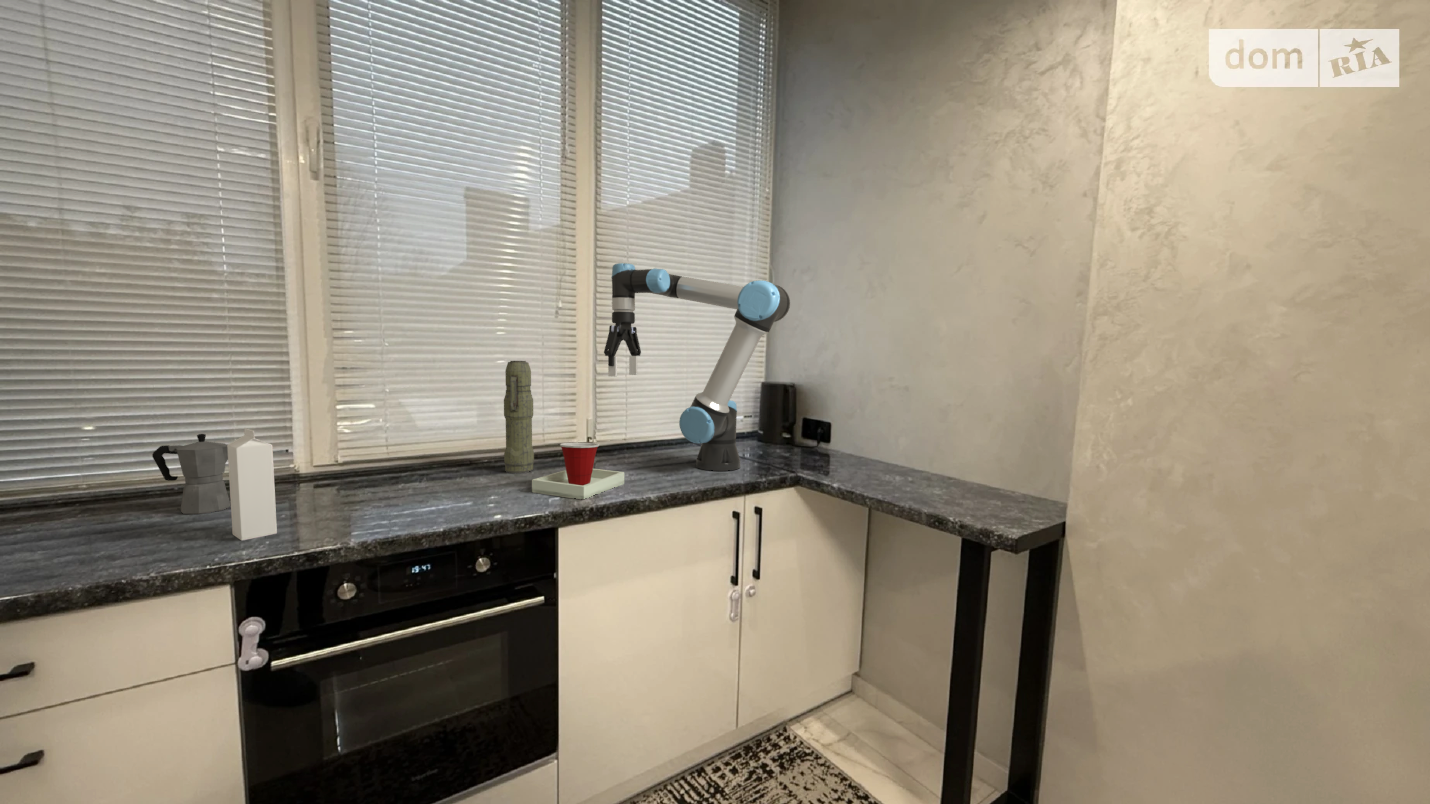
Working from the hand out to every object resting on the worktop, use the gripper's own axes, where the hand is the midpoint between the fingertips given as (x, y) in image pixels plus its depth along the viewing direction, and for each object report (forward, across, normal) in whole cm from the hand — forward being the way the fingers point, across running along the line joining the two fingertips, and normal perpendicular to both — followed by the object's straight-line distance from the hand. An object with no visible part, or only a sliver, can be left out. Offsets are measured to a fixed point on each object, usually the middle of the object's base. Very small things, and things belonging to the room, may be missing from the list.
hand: (623, 375), depth 194 cm
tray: (+30, +33, +5) cm, 45 cm away
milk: (+30, +95, -32) cm, 105 cm away
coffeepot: (+30, +89, -62) cm, 113 cm away
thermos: (+30, +22, -25) cm, 45 cm away
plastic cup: (+30, +33, +5) cm, 45 cm away
